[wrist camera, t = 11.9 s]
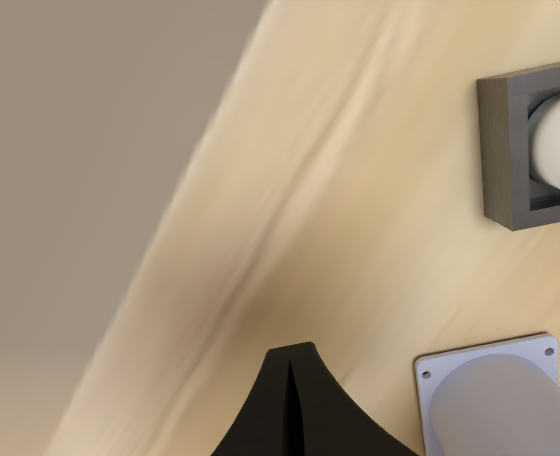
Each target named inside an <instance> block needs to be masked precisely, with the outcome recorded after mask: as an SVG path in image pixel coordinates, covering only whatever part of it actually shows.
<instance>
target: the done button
mask: <svg viewBox="0 0 560 456" xmlns="http://www.w3.org/2000/svg"><path fill="white" fill-rule="evenodd" d="M528 156H529V174H530V175H531V176H532V177H533V178H534V179H536V180H537V181H539V182H541V183H543V184H546V185H549V186H552V187H555V188H558V189H560V93H559V94H557V95H555V96H553V97H551V98H549V99H548V100H547V101H545V102H544V103H543V104H541V105H540V106H539V107H538V108H537V109H536V111H535V112H534V113H533V114H532V116H531V117H530V119H529V120H528Z"/></svg>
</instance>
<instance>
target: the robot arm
mask: <svg viewBox="0 0 560 456" xmlns="http://www.w3.org/2000/svg"><path fill="white" fill-rule="evenodd" d="M548 348H549V350H548V351H546V352H545V350H546V349H548ZM415 371H416V379H417V387H418V396H419V404H420V412H421V420H422V428H423V436H424V444H425V452H426V456H560V387H559V386H558V341H557V339H556V338H555V337H554V336H553V335H552V334H549V333H545V334H539V335H534V336H529V337H524V338H518V339H513V340H508V341H503V342H497V343H492V344H487V345H482V346H476V347H471V348H466V349H461V350H455V351H450V352H445V353H440V354H434V355H429V356H424V357H421V358H419V359H417V360H416V362H415ZM425 371H428V373H427V374H425V375H422V374H423V372H425ZM211 456H419V455H418V454H416V453H415V452H413V451H412V450H411V449H409V448H408V447H406V446H405V445H404V444H402V443H401V442H400V441H398V440H397V439H396V438H394V437H393V436H391V435H390V434H389V433H388V432H386V431H385V430H384V429H383V428H382V427H380V426H379V425H378V424H377V423H376V422H375V421H374V420H372V419H371V418H370V417H369V416H368V415H367V414H366V413H365V412H364V411H363V410H362V409H361V408H360V407H359V406H358V405H357V404H356V403H355V402H354V401H353V400H352V399H351V397H350V396H349V395H348V394H347V393H346V392H345V391H344V390H343V388H342V387H341V386H340V385H339V383H338V382H337V381H336V379H335V378H334V377H333V375H332V374H331V373H330V371H329V370H328V369H327V367H326V366H325V364H324V362H323V361H322V359H321V357H320V356H319V354H318V352H317V349H316V347H315V344H314V343H312V342H311V341H310V342H305V343H300V344H294V345H289V346H284V347H279V348H274V349H269V350H268V352H267V353H266V356H265V359H264V361H263V364H262V367H261V369H260V371H259V374H258V376H257V378H256V381H255V383H254V385H253V387H252V389H251V391H250V393H249V395H248V397H247V399H246V401H245V403H244V405H243V407H242V408H241V410H240V412H239V414H238V415H237V417H236V419H235V421H234V422H233V424H232V426H231V427H230V429H229V430H228V432H227V433H226V435H225V436H224V438H223V439H222V441H221V442H220V444H219V445H218V446H217V448H216V449H215V451H214V452H213V453H212V454H211Z"/></svg>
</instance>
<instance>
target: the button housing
mask: <svg viewBox="0 0 560 456" xmlns="http://www.w3.org/2000/svg"><path fill="white" fill-rule="evenodd" d="M477 84H478V101H479V119H480V137H481V155H482V172H483V190H484V208H485V216H486V217H488V218H490V219H492V220H493V221H495V222H497V223H499V224H501V225H502V226H504V227H506V228H508V229H510V230H511V231H517V230H522V229H527V228H532V227H537V226H542V225H547V224H552V223H557V222H560V189H558V188H555V187H552V186H549V185H546V184H543V183H541V182H539V181H537V180H536V179H534V178H533V177H532V176H531V175H530V174H529V156H528V120H529V119H530V117H531V116H532V114H533V113H534V112H535V111H536V109H537V108H538V107H539V106H540V105H541V104H543V103H544V102H545V101H547V100H548V99H549V98H551V97H553V96H555V95H557V94H559V93H560V62H558V63H554V64H549V65H544V66H539V67H535V68H530V69H525V70H521V71H516V72H511V73H506V74H502V75H497V76H492V77H487V78H483V79H478V80H477Z"/></svg>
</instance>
